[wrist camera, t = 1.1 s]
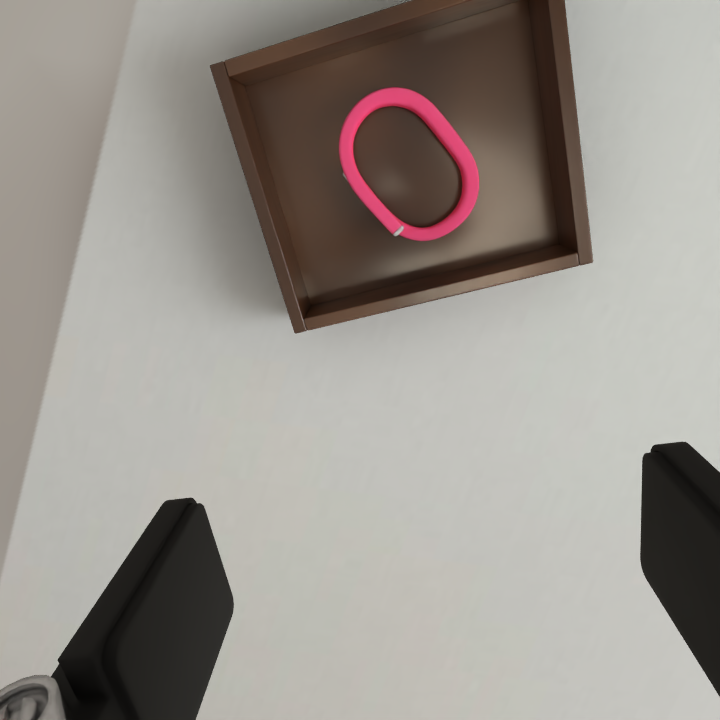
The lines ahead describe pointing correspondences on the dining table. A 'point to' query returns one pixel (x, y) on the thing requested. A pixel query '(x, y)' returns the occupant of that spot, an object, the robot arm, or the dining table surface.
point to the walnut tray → (412, 154)
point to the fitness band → (442, 132)
